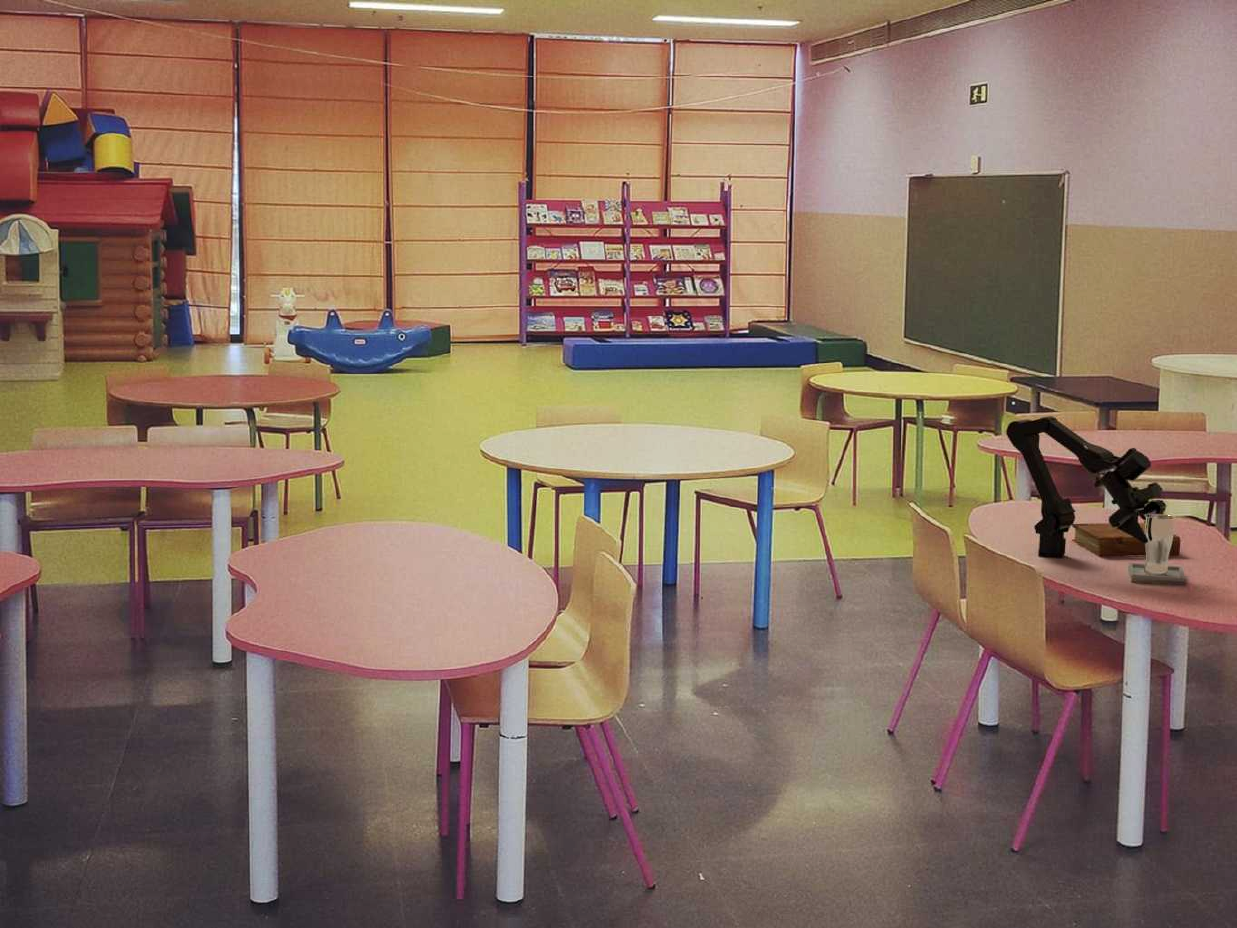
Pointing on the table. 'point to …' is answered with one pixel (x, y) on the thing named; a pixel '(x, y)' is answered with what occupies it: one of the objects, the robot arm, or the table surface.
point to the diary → (1113, 540)
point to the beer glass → (1158, 543)
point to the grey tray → (1173, 577)
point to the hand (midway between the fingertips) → (1156, 540)
